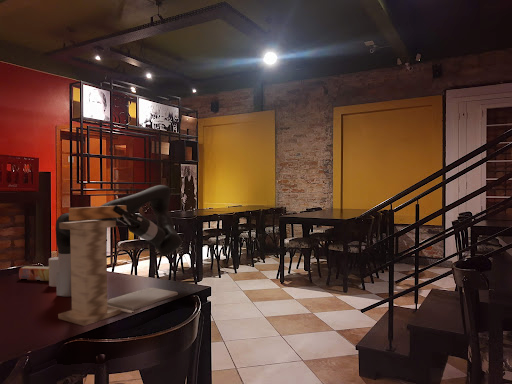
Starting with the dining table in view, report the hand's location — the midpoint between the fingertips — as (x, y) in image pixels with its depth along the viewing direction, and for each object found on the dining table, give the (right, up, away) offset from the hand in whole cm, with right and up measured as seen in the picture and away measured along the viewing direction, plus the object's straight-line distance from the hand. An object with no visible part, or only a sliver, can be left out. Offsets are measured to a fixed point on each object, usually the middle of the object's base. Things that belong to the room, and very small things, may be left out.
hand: (110, 207), depth 138 cm
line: (+1, -36, +1) cm, 36 cm away
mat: (+8, -36, +12) cm, 39 cm away
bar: (-2, -3, -4) cm, 6 cm away
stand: (-4, -36, -7) cm, 37 cm away
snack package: (-51, -37, +47) cm, 79 cm away
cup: (-38, -37, +37) cm, 64 cm away
